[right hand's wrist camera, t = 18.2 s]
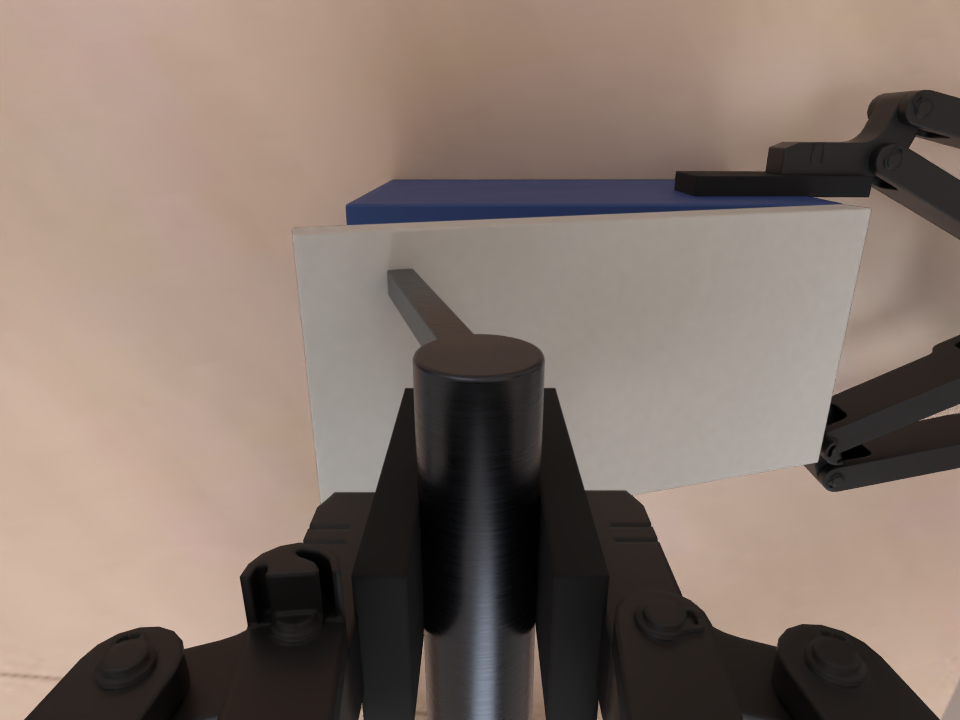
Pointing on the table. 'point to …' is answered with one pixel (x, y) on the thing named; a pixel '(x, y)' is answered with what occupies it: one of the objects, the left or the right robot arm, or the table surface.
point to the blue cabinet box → (539, 200)
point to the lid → (562, 383)
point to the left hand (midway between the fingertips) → (671, 305)
